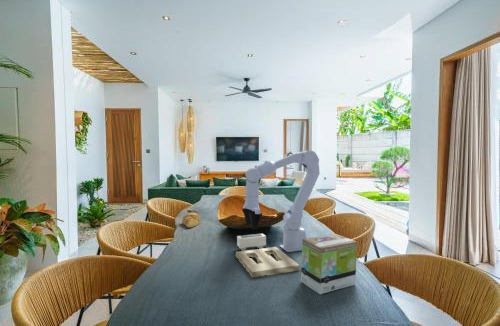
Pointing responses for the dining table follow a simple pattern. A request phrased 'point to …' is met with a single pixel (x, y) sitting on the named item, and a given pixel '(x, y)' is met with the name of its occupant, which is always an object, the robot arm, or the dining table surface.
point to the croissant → (191, 219)
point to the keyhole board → (266, 262)
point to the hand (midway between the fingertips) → (251, 226)
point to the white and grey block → (251, 241)
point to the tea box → (328, 262)
